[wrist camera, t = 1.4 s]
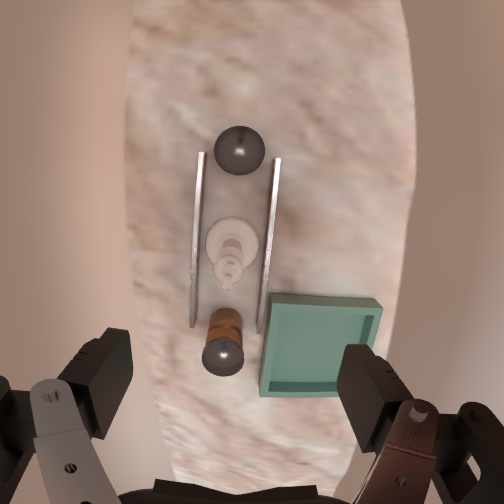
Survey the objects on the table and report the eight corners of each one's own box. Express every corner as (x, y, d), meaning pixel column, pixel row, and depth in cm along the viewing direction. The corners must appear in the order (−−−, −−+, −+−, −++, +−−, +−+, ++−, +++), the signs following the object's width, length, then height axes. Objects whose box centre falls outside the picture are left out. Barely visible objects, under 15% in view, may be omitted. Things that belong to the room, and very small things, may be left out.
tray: (270, 293, 30) (272, 303, 28) (374, 298, 31) (383, 308, 28) (258, 383, 33) (259, 396, 31) (351, 383, 33) (357, 395, 31)
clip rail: (203, 134, 26) (191, 122, 20) (280, 141, 27) (292, 131, 20) (192, 333, 31) (181, 372, 24) (258, 339, 31) (262, 378, 25)
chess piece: (201, 264, 29) (183, 308, 20) (210, 212, 28) (194, 233, 18) (253, 273, 30) (258, 322, 20) (264, 222, 29) (276, 249, 19)
